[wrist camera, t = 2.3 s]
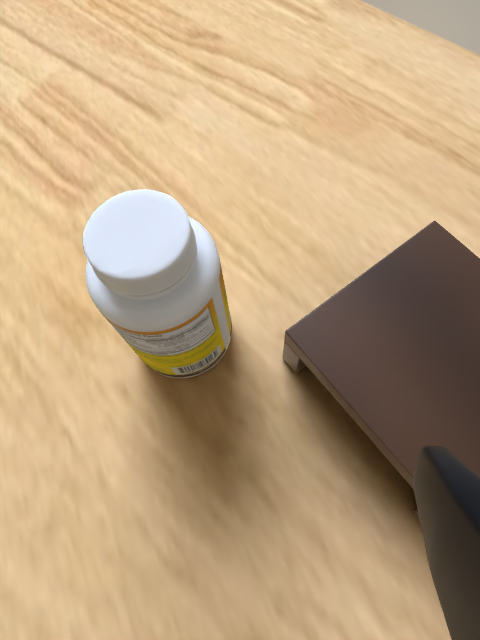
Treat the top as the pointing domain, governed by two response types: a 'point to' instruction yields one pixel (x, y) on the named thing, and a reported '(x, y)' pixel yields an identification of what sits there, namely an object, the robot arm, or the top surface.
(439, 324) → the walnut shelf
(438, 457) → the robot arm
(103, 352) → the top surface
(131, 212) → the supplement bottle
